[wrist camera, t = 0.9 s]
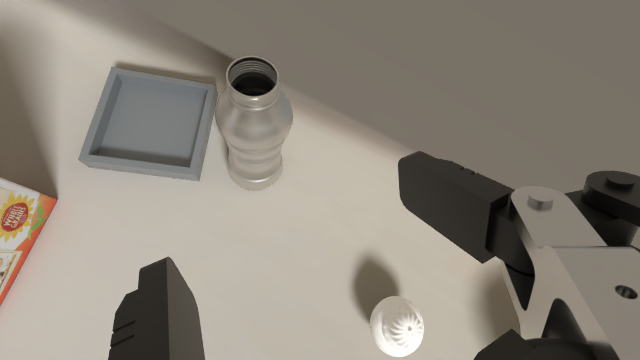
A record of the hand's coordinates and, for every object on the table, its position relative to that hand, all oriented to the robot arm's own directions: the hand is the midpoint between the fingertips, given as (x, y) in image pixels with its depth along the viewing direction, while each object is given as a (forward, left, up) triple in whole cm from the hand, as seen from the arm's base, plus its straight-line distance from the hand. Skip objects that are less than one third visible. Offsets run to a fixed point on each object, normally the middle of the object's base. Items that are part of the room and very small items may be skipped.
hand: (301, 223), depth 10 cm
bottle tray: (-17, +16, -29) cm, 36 cm away
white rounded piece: (+14, -5, -29) cm, 33 cm away
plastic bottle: (-4, +12, -29) cm, 31 cm away
